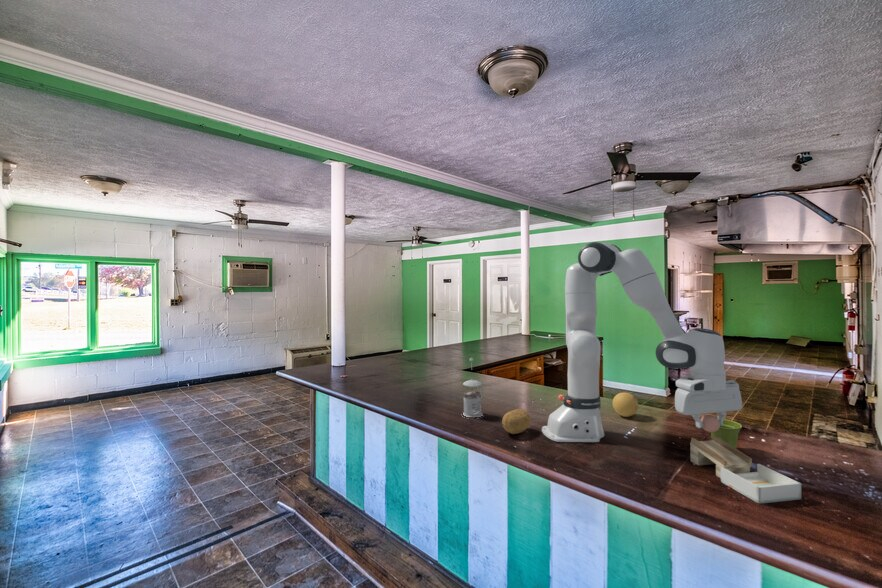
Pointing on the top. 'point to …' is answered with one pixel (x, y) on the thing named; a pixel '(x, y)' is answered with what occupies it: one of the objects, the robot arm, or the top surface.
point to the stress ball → (625, 404)
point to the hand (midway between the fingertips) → (709, 426)
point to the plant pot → (728, 432)
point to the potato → (516, 421)
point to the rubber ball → (710, 423)
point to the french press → (472, 399)
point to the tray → (763, 485)
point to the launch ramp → (719, 456)
